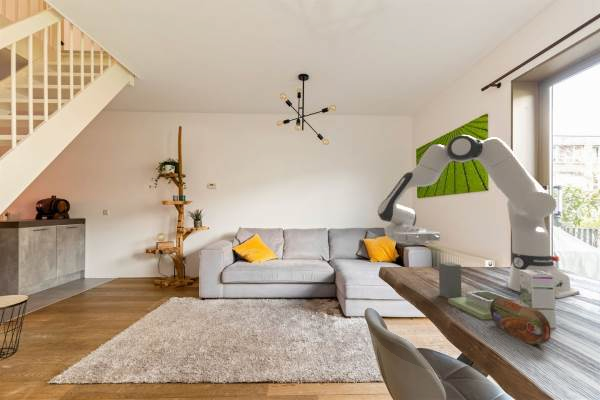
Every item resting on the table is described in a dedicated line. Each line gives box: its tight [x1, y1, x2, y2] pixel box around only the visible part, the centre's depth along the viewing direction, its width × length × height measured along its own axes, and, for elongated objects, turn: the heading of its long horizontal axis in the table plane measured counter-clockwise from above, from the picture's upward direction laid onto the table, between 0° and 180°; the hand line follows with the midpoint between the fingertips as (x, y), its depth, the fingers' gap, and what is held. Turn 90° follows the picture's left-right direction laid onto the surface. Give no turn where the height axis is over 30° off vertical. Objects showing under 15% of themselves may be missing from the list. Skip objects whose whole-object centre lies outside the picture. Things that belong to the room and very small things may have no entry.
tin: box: [490, 298, 552, 345], centre depth 69 cm, size 15×3×8 cm, turn 5°
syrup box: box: [519, 270, 557, 329], centre depth 76 cm, size 6×6×14 cm
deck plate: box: [447, 290, 513, 321], centre depth 86 cm, size 16×14×4 cm
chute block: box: [438, 262, 463, 300], centre depth 98 cm, size 5×5×12 cm
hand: (427, 238), depth 110 cm, fingers open, 8 cm apart
